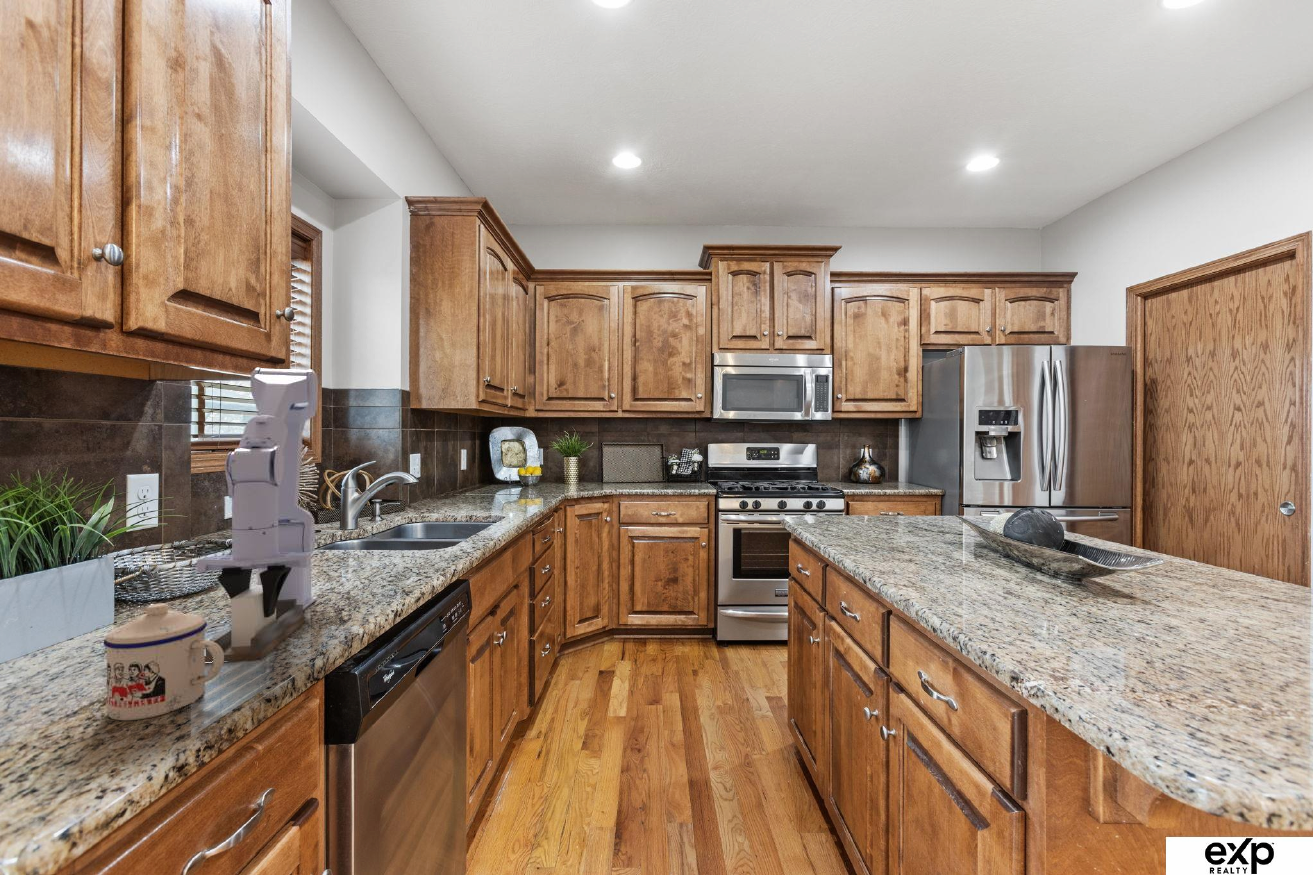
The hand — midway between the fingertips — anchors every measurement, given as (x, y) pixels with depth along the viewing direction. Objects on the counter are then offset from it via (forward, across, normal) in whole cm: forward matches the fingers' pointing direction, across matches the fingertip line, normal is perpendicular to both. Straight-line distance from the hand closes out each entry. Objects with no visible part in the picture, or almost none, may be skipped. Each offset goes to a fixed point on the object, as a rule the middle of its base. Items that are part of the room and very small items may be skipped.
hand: (256, 616), depth 85 cm
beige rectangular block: (+3, 0, 0) cm, 3 cm away
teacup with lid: (+4, -1, -19) cm, 20 cm away
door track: (+4, 0, +1) cm, 4 cm away
